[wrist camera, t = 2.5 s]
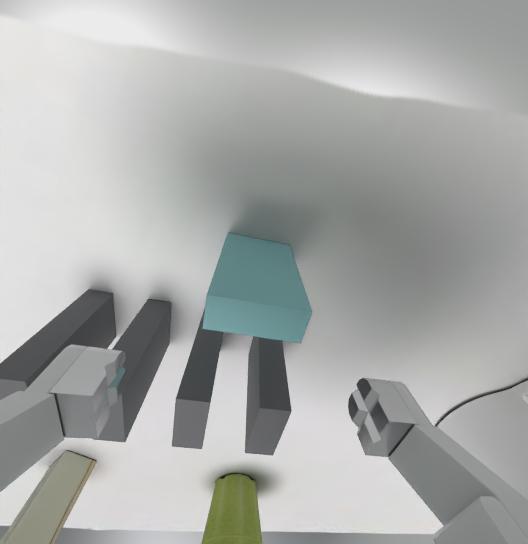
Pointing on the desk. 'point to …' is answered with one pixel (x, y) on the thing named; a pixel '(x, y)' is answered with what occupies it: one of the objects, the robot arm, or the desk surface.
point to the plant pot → (233, 512)
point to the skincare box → (50, 501)
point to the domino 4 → (257, 291)
